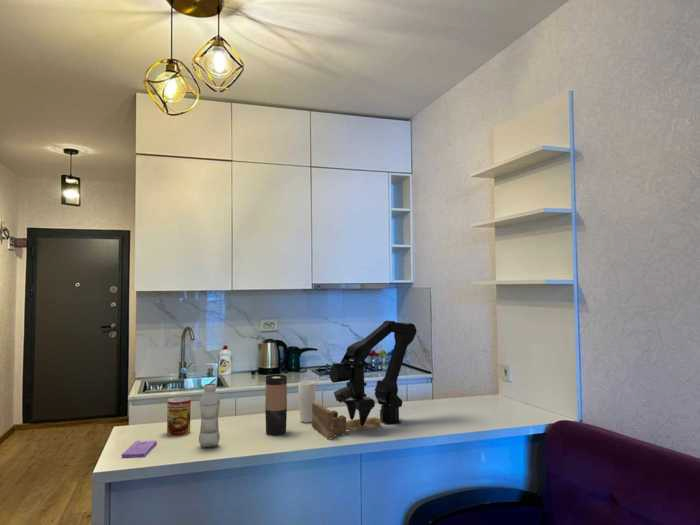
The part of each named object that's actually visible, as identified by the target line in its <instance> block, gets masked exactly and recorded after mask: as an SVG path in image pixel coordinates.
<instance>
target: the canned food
mask: <svg viewBox="0 0 700 525" xmlns="http://www.w3.org/2000/svg"><path fill="white" fill-rule="evenodd" d="M191 401H192V399H191V397H189V396H176V397H172V398H168V399H167V411H166V412H167V418H166V419H167V421H166V428H167V429H166V435H167V436H168V437H183V436H186V435H189V434H190V433H191Z"/></svg>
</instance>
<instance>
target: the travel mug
mask: <svg viewBox="0 0 700 525" xmlns="http://www.w3.org/2000/svg"><path fill="white" fill-rule="evenodd" d="M287 380H288V378H287V375H286V374H268V375H266V376H265V406H264V408H265V410H264V411H265V434H266V435H268V436H275V437H277V435H278V436H281V435H282V436H283V435H285V434H286V433H287V416H288V415H287V412H288V399H287V398H288V384H287Z"/></svg>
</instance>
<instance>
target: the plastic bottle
mask: <svg viewBox="0 0 700 525" xmlns="http://www.w3.org/2000/svg"><path fill="white" fill-rule="evenodd" d="M216 391H217V385H216V383H206V384H203V394H202V396H201V397H200V400H199V408H200V409H199V410H200V418H201V419H200V430H199V431H200V432H199V435H198V444H199V445H200V447H203V448H212V447H216V446H218V445H219V442H220V438H221V436H220V434H221V433H220V429H219V415H220V413H219V411H220V406H221V398H220V396H219V394H218V393H217V392H216Z"/></svg>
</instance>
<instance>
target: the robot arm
mask: <svg viewBox="0 0 700 525" xmlns="http://www.w3.org/2000/svg"><path fill="white" fill-rule="evenodd" d="M392 333H394V335H393V337H394V346H393V350H392V352H391V356H390V358H389V363H388V365H387V368H386V371H385V375H384V377H383V379H382V380H379V379H378V380H377V382H376V386H375V388H374V396H375V398H376V400H377V404H378V405H380V410H379V418H380V419H381V423H383V424H385V425H391V424H392V425H393V424H400V423H402V421H401V420H400V408H401V407H402V406H403V400H402V399H401V397H399V396H398V390H399V387H398V382H397V381H398V379H399V375H400V372H401V370H402V368H401V367H402V365H403V362H404V358H405V355H406V351H407V348H408V347H409V346H410V344H411V343H413V341H414V339H415V337H416V334H417V327H416V326H415V324H413V323H412V322H397V321H395V320H389V319H388V320H385V321H383V322H382V324H380V325H379V326H378V327H377V328H376V329H374V330H373V331H372V332H371V333H369V334H368V335H367V336H365V337H364V338H363V339H361V340H358V341H355V342H354V343H352V344H350V345H348V347H347V348H346V351H345V353H344V355H343V357H342V359H341V361H340V362H339V363H338V362H333V363H332V366H331V367H330V370H329V373H328V374H329V375H328V376H329V379H330V381H331V382H332V384H333V383H342V382H346V384H345V386H344V387H342V388H339V389H337V390H335V391H334V392H333V394H334V397H335V401H337V402H338V403H341V404H342V403H344V404H345V405H346V408H347V412H348V415H349V418H350V420H355V419H354V418H355V415H356V412H357V411H358V415H359V416H358V417H359V418H358V419H360V425H361V426H363V425H364V424H365V421H366V419H367V418H369V415H370V413H371V411H372V409H373V408H375V406H376V403H375V402H376V401H375V400H374V399H373V398H371V397H369V396H367V393H365V387H366V386H367V382H366V381H365V368H366V367H370V363H368V362H367V361H366V359H367V358H368V357H369V356H370V354H371V352H372V350H373V349H374V348H375V347H376V346H377V345H378V344H380V342H382V341H383V340H384V339H386V337H387V336H389V335H390V334H392Z"/></svg>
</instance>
